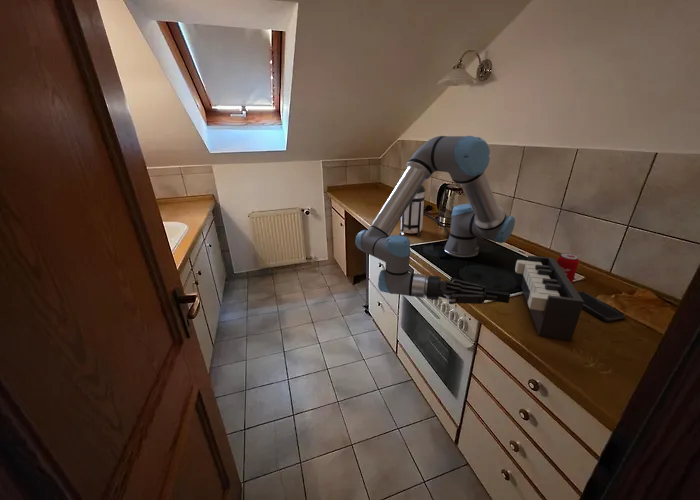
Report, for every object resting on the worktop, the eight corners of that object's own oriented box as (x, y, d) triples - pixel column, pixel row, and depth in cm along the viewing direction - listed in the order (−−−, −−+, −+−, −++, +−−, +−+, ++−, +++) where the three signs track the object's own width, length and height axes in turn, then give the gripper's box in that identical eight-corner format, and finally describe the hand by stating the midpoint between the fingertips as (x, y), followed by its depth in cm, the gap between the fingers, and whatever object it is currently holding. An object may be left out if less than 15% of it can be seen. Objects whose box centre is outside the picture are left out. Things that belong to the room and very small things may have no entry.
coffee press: (391, 231, 172) (392, 179, 161) (414, 227, 178) (417, 176, 167) (408, 240, 158) (411, 184, 146) (432, 235, 164) (437, 180, 152)
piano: (516, 286, 112) (523, 254, 107) (545, 290, 109) (554, 257, 104) (533, 334, 87) (543, 296, 81) (571, 341, 84) (584, 301, 79)
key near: (527, 303, 88) (530, 292, 86) (556, 307, 86) (560, 295, 84) (529, 309, 86) (532, 297, 84) (559, 313, 83) (563, 301, 82)
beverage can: (550, 279, 116) (558, 251, 111) (570, 282, 113) (578, 253, 108) (552, 286, 111) (560, 257, 106) (572, 290, 108) (581, 260, 103)
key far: (514, 269, 108) (517, 259, 107) (538, 272, 106) (540, 262, 104) (516, 273, 106) (518, 263, 104) (540, 275, 103) (542, 265, 102)
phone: (606, 319, 90) (564, 293, 104) (605, 322, 91) (563, 296, 104) (627, 315, 91) (583, 291, 105) (626, 318, 92) (582, 293, 105)
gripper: (428, 287, 102) (503, 297, 95) (423, 307, 91) (509, 321, 83) (429, 267, 99) (508, 276, 92) (425, 286, 88) (514, 298, 81)
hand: (508, 297), depth 88 cm, fingers closed
